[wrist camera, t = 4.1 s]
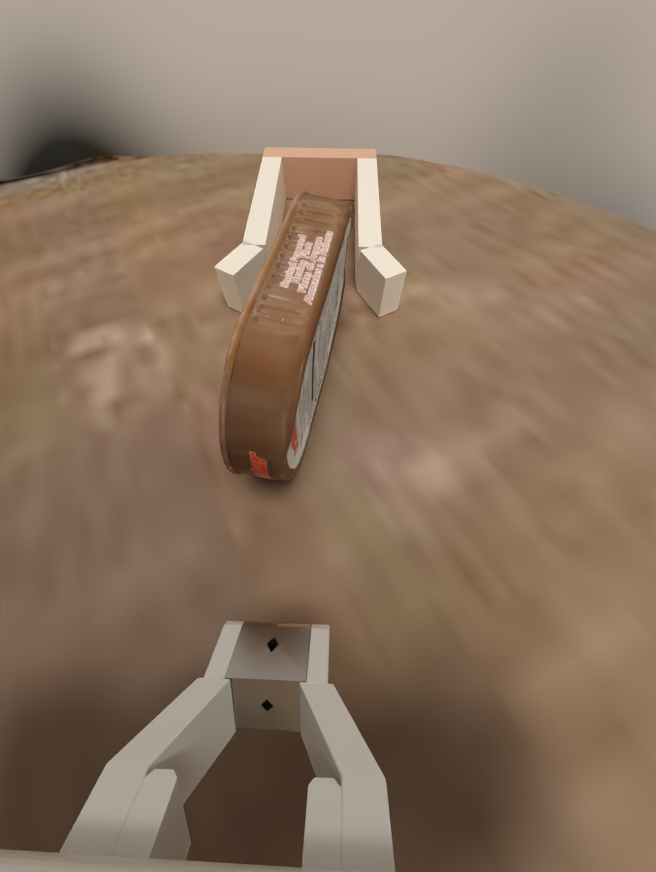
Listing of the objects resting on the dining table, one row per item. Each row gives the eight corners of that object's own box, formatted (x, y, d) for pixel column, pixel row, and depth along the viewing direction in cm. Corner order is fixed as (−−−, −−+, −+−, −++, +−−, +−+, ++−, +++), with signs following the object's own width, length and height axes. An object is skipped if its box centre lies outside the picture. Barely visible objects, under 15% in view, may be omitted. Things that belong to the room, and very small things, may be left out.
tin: (309, 294, 23) (300, 150, 16) (352, 301, 23) (364, 156, 15) (242, 495, 17) (173, 413, 9) (302, 508, 16) (280, 433, 9)
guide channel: (225, 314, 22) (211, 275, 20) (255, 188, 29) (248, 147, 27) (397, 317, 22) (407, 279, 19) (387, 190, 29) (393, 149, 26)
